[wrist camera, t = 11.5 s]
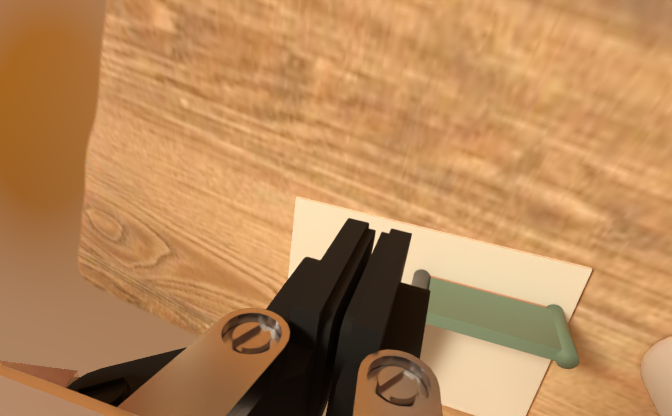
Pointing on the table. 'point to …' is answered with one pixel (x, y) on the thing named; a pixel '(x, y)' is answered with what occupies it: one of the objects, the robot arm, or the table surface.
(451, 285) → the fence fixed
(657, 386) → the milk bottle
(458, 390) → the card
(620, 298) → the table surface
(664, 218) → the table surface
